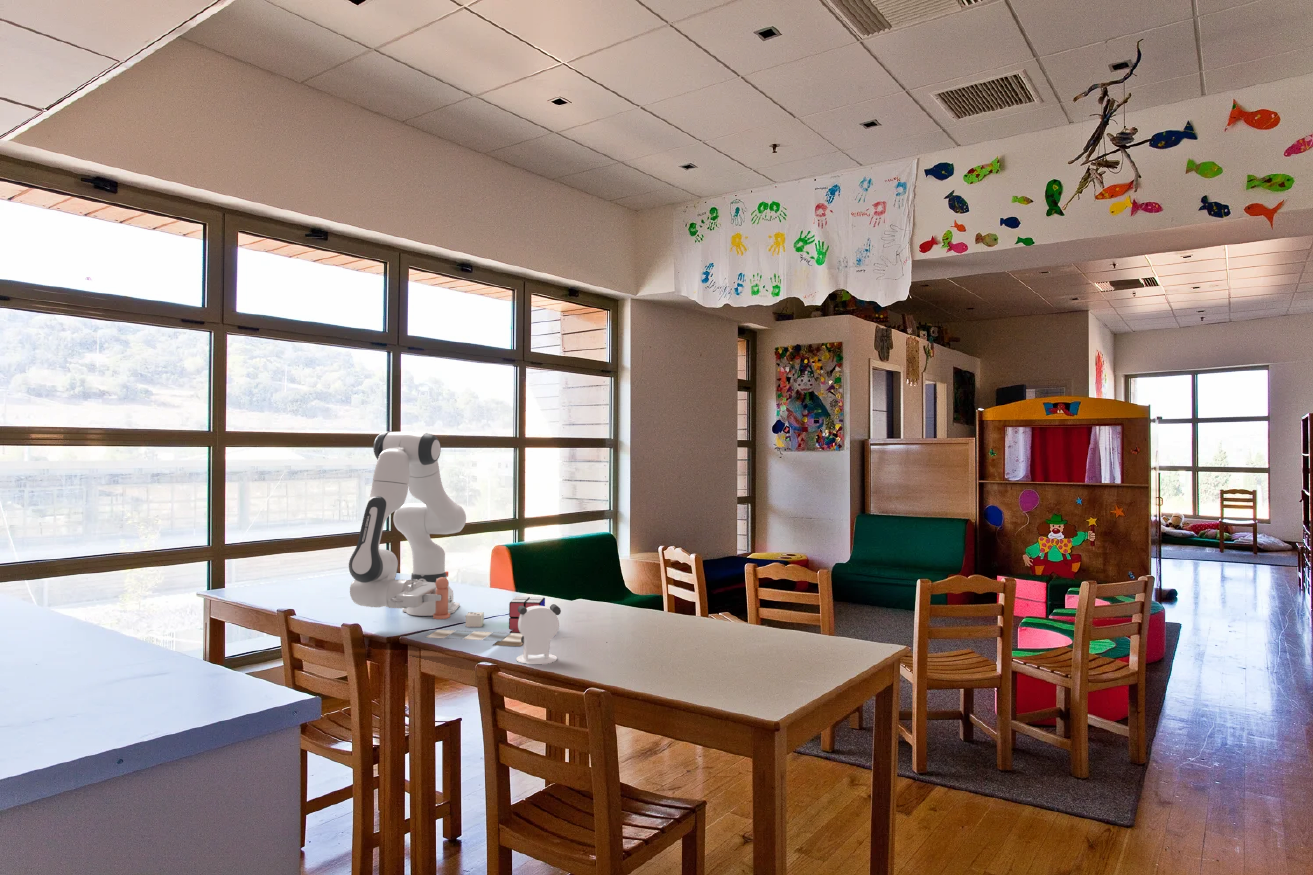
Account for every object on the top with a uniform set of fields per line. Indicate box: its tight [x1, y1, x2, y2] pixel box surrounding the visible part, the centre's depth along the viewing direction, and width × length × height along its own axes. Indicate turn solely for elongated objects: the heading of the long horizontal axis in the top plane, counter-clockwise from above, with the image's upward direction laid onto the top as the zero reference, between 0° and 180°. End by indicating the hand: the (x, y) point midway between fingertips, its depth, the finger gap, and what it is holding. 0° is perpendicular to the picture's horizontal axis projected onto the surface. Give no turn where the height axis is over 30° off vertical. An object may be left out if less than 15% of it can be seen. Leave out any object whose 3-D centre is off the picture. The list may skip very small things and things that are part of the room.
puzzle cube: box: [508, 596, 546, 633], centre depth 263 cm, size 10×10×10 cm
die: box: [465, 611, 485, 628], centre depth 263 cm, size 5×5×5 cm
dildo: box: [432, 577, 451, 620], centre depth 250 cm, size 5×5×12 cm
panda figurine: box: [515, 603, 562, 665], centre depth 227 cm, size 12×11×15 cm
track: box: [425, 629, 524, 647], centre depth 248 cm, size 11×30×1 cm, turn 83°
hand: (444, 595), depth 250 cm, fingers closed on dildo, 4 cm apart
